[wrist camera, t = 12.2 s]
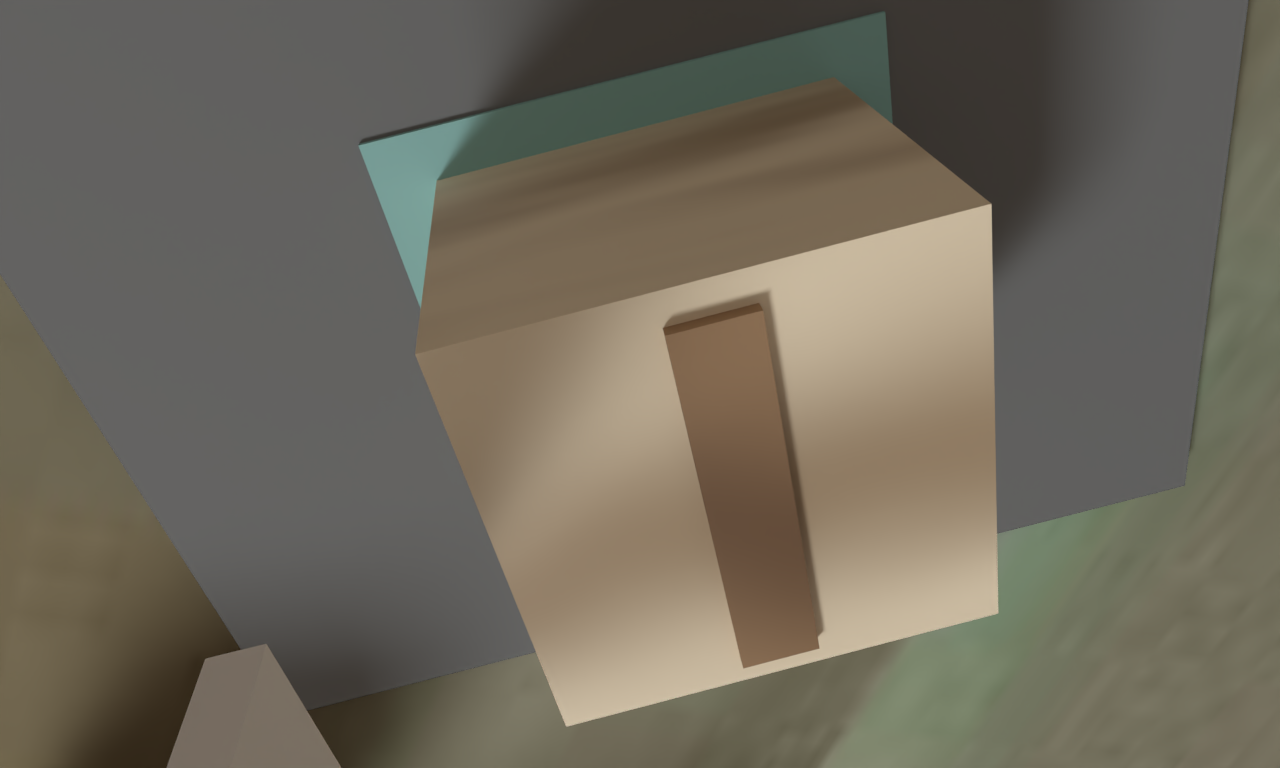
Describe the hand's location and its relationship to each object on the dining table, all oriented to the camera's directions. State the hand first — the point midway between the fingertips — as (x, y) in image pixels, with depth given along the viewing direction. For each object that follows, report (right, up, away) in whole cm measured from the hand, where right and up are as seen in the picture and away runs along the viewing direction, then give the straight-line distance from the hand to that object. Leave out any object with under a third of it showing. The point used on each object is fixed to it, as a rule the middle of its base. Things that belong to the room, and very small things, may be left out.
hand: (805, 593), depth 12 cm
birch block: (-1, +4, +6) cm, 8 cm away
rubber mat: (-2, +4, +7) cm, 8 cm away
